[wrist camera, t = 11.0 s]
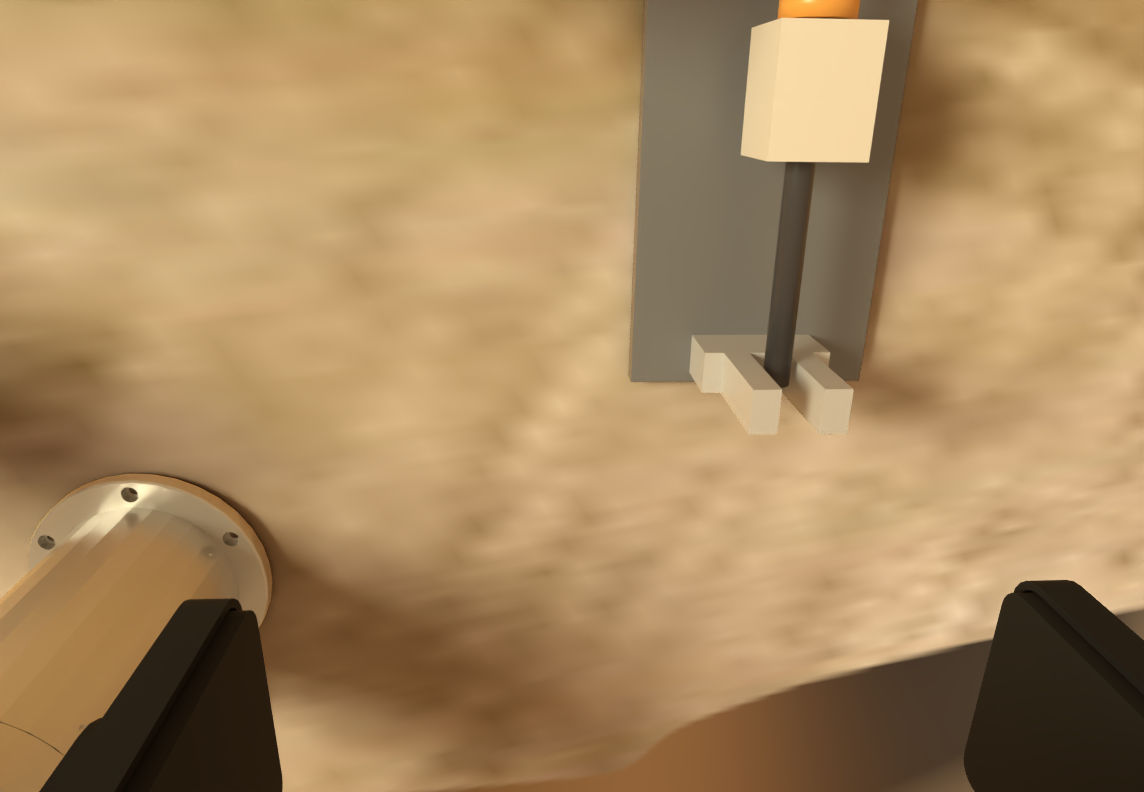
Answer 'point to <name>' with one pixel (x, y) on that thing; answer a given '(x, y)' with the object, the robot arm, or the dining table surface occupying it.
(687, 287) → the board
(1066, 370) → the dining table surface
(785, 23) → the sleeve
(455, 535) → the dining table surface
